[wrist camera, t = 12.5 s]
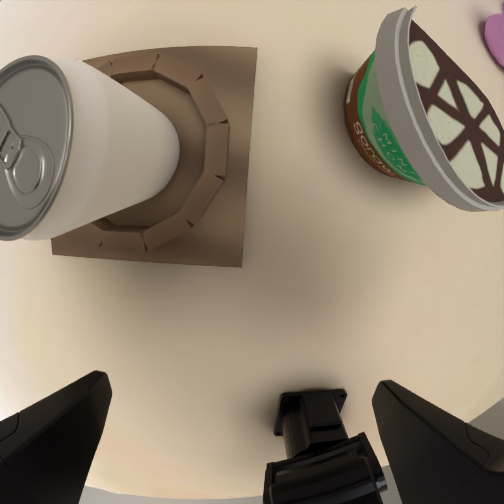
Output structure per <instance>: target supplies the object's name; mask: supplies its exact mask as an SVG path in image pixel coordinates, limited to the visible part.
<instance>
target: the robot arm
mask: <svg viewBox="0 0 504 504" xmlns="http://www.w3.org/2000/svg"><path fill="white" fill-rule="evenodd" d="M346 397H347V393H346V391H345V390H333V391H320V392H301V393H284V394H282V395H281V397H280V402H279V407H278V412H277V416H276V421H275V426H274V435H275V436H284V442H285V448H286V454H287V459H286V460H282V461H278V462H271V463H267V468H266V471H265V482H264V493H263V504H383V502H382V499H381V496H380V493H382V492H384V491H387V484H386V480H385V477H384V474H383V471H382V469H381V466H380V464H379V461H378V459H377V457H376V455H375V453H374V451H373V449H372V447H371V445H370V443H369V441H368V439H367V437H366V435H365V433H364V432H362V433H359V434H358V435H357V436H354V437H352V438H348V435H347V432H346V430H345V427H344V424H343V422H342V419H341V416H340V412H341V410H342V407H343V405H344V402H345V399H346ZM111 398H112V389H111V385H110V382H109V378H108V375H107V374H106V373H105V372H102V371H97V370H95V371H93V372H91V373H89V374H87V375H85V376H84V377H82V378H80V379H78V380H77V381H75V382H73V383H71V384H69V385H68V386H66V387H64V388H62V389H60V390H59V391H57V392H55V393H53V394H51V395H49V396H48V397H46V398H44V399H42V400H40V401H38V402H36V403H35V404H33V405H31V406H29V407H27V408H25V409H23V410H21V411H20V413H19V412H18V413H16V414H14V415H12V416H10V417H8V418H6V419H4V420H2V421H0V504H79V500H80V497H81V494H82V490H83V488H84V484H85V481H86V478H87V475H88V472H89V469H90V466H91V464H92V461H93V458H94V455H95V452H96V450H97V447H98V444H99V441H100V439H101V436H102V433H103V429H104V426H105V422H106V417H107V414H108V410H109V406H110V402H111ZM372 406H373V410H374V414H375V418H376V422H377V426H378V431H379V435H380V438H381V441H382V444H383V447H384V450H385V453H386V456H387V459H388V461H389V464H390V467H391V470H392V473H393V476H394V479H395V482H396V485H397V488H398V491H399V495H400V498H401V501H402V504H504V440H503V439H500V438H498V437H495V436H493V435H490V434H488V433H486V432H483V431H481V430H479V429H477V428H475V427H473V426H471V425H470V424H468V423H466V422H465V423H464V421H462V420H461V419H459V418H457V417H455V416H453V415H451V414H450V413H448V412H446V411H444V410H442V409H441V408H439V407H437V406H435V405H434V404H432V403H430V402H428V401H427V400H425V399H423V398H421V397H420V396H418V395H416V394H414V393H413V392H411V391H409V390H408V389H406V388H404V387H403V386H401V385H399V384H397V383H396V382H394V381H392V380H383V381H380V382H379V383H378V385H377V388H376V390H375V393H374V395H373V398H372Z"/></svg>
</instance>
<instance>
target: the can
mask: <svg viewBox="0 0 504 504" xmlns="http://www.w3.org/2000/svg"><path fill="white" fill-rule="evenodd" d="M179 154H180V145H179V139H178V135H177V132H176V130H175V128H174V126H173V124H172V123H171V121H170V120H169V119H168V118H167V117H166V116H165V115H164V114H163V113H162V112H160V111H159V110H158V109H156V108H155V107H153V106H152V105H151V104H149V103H148V102H146V101H145V100H143V99H142V98H140V97H139V96H138V95H136V94H135V93H133V92H132V91H130V90H129V89H127V88H126V87H124V86H123V85H121V84H119V83H118V82H116V81H115V80H113V79H112V78H110V77H109V76H107V75H105V74H104V73H102V72H100V71H99V70H97V69H95V68H94V67H92V66H90V65H88V64H86V63H84V62H82V61H80V60H77V59H74V58H70V57H52V58H46V57H43V56H38V55H31V56H25V57H22V58H19V59H17V60H15V61H13V62H11V63H9V64H8V65H6V66H5V67H4V68H2V69H1V70H0V240H2V241H13V240H17V239H20V238H21V239H26V240H33V241H39V240H46V239H50V238H53V237H56V236H59V235H61V234H64V233H66V232H69V231H71V230H73V229H76V228H78V227H81V226H83V225H85V224H88V223H90V222H93V221H95V220H97V219H100V218H102V217H105V216H107V215H110V214H112V213H115V212H117V211H120V210H122V209H125V208H127V207H130V206H132V205H135V204H138V203H140V202H143V201H145V200H147V199H149V198H152V197H153V196H155V195H157V194H158V193H159V192H161V191H162V190H163V189H164V188H165V186H166V185H167V184H168V182H169V181H170V179H171V178H172V176H173V174H174V172H175V170H176V168H177V165H178V161H179Z"/></svg>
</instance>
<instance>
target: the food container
mask: <svg viewBox="0 0 504 504" xmlns="http://www.w3.org/2000/svg"><path fill="white" fill-rule="evenodd" d="M416 8H417V7H416V6H415V7H413V8H412V9H410V10H409V11H408V10H407V9H406V8H405V7H404V8H402V9H399V10H397V11H395V12H392V13H390V14H387V16H386V17H385V19H384V20H383V22H382V24H381V26H380V29H379V32H378V35H377V39H376V47H375V50H374V52H373V53H372V54H371V55H370V56H369V58H368V59H367V60H366V61H365V62H364V64H363V65H362V66H361V67H360V68H359V70H358V71H357V72H356V73H355V74H354V76H353V77H352V79H351V81H350V82H349V84H348V86H347V90H346V95H345V99H344V114H345V124H346V127H347V129H348V132H349V135H350V138H351V140H352V143H353V144H354V146H355V147H356V149H357V150H358V152H359V153H360V155H361V156H362V157H363V158H364V159H365V160H366V162H367V163H368V164H370V165H371V166H372V167H373V168H375V169H376V170H378V171H380V172H381V173H383V174H386V175H388V176H391V177H395V178H399V179H403V180H407V181H410V182H414V183H418V184H421V185H425V186H428V187H429V188H430V189H431V190H432V191H433V192H434V193H435V194H436V195H437V196H439V197H440V198H442V199H443V200H444V201H446V202H447V203H448V204H450V205H452V206H454V207H457V208H459V209H461V210H466V211H470V212H474V211H498V210H501V209H504V130H503V128H502V125H501V123H500V121H499V119H498V117H497V115H496V113H495V111H494V109H493V107H492V106H491V104H490V102H489V100H488V99H487V98H486V96H485V95H484V94H483V93H482V91H481V90H480V89H479V88H478V87H477V85H476V84H475V83H474V82H473V81H472V80H471V79H470V78H469V77H468V76H467V75H466V74H465V73H464V72H463V71H462V70H461V69H460V68H459V67H458V66H457V65H456V64H455V63H454V61H453V60H452V59H451V58H450V57H449V56H448V55H447V54H446V53H445V52H444V51H443V50H442V49H441V48H440V47H439V46H438V45H437V44H436V43H435V42H434V41H433V40H432V39H431V38H430V37H429V36H428V35H427V34H426V33H425V32H424V31H423V30H422V29H421V28H420V27H419V26H418V25H417V24H416V23H415V22H414V21H413V20H412V16H413V14H414V12H415V10H416Z"/></svg>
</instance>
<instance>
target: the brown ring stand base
mask: <svg viewBox="0 0 504 504" xmlns="http://www.w3.org/2000/svg"><path fill="white" fill-rule="evenodd" d="M256 58H257V48H253V47H235V46H187V47H169V48H157V49H148V50H139V51H132V52H125V53H119V54H113V55H108V56H102V57H98V58H93V59H88V60H84V61H82V62H84V63H86V64H88V65H90V66H92V67H94V68H95V69H97V70H99V71H100V72H102V73H104V74H105V75H107V76H109V77H110V78H112V79H113V80H115V81H116V82H118V83H119V84H121V85H123V86H124V87H126V88H127V89H129V90H130V91H132V92H133V93H135V94H136V95H138V96H139V97H140V98H142V99H143V100H145V101H146V102H148V103H149V104H151V105H152V106H153V107H155V108H156V109H158V110H159V111H160V112H162V113H163V114H164V115H165V116H166V117H167V118H168V119H169V120H170V121H171V123H172V124H173V126H174V128H175V130H176V132H177V135H178V139H179V145H180V154H179V161H178V165H177V168H176V170H175V172H174V174H173V176H172V178H171V179H170V181H169V182H168V184H167V185H166V186H165V188H164V189H163V190H162V191H161V192H159V193H158V194H157V195H155V196H153V197H152V198H149V199H147V200H145V201H143V202H140V203H138V204H135V205H132V206H130V207H127V208H125V209H122V210H120V211H117V212H115V213H112V214H110V215H107V216H105V217H102V218H100V219H97V220H95V221H93V222H90V223H88V224H85V225H83V226H81V227H78V228H76V229H73V230H71V231H69V232H66V233H64V234H61V235H59V236H56V237H53V238H51V244H52V253H53V255H64V256H76V257H88V258H101V259H115V260H128V261H143V262H157V263H173V264H189V265H205V266H222V267H240V268H242V252H243V236H244V221H245V206H246V191H247V177H248V163H249V149H250V135H251V122H252V109H253V96H254V83H255V71H256Z"/></svg>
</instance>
